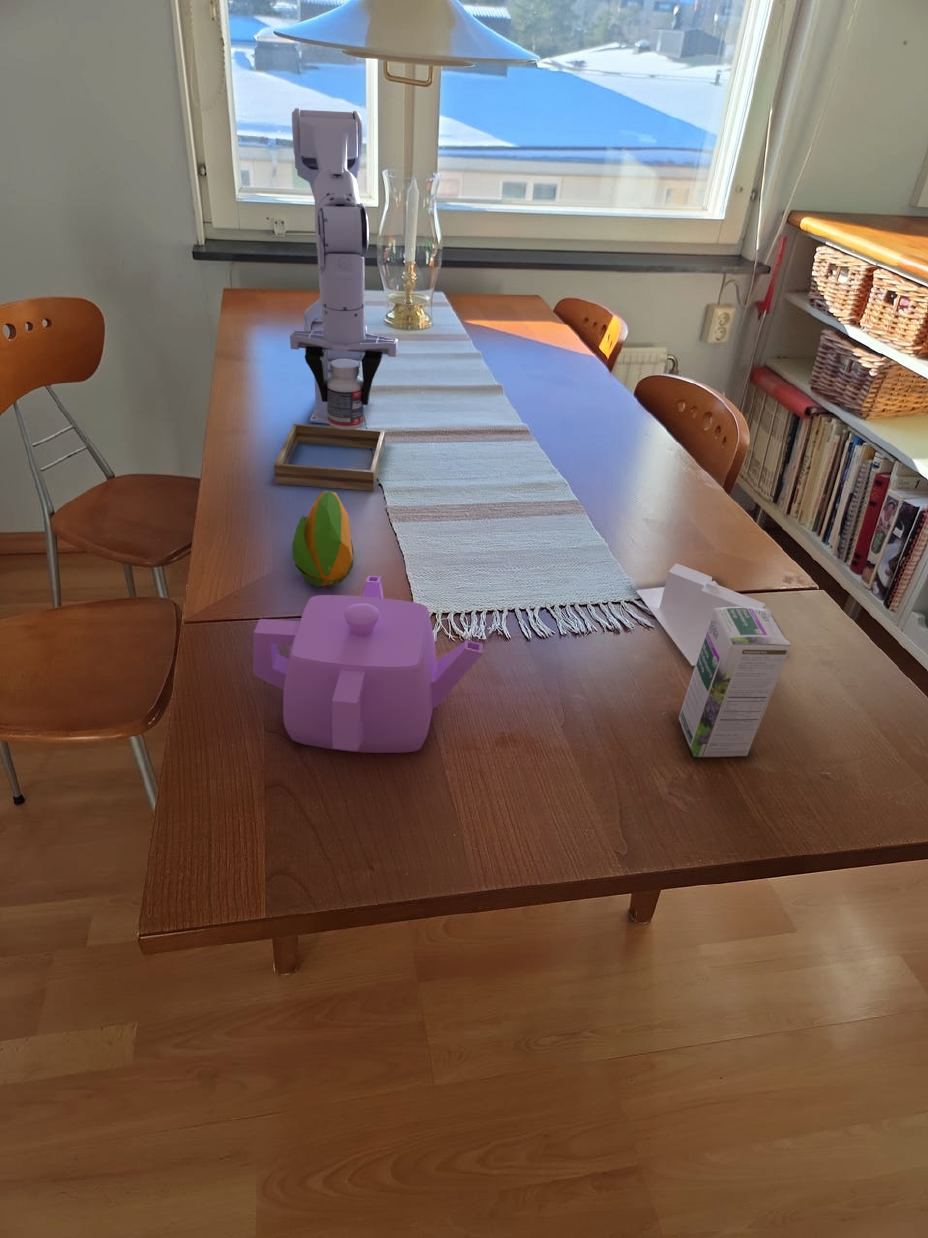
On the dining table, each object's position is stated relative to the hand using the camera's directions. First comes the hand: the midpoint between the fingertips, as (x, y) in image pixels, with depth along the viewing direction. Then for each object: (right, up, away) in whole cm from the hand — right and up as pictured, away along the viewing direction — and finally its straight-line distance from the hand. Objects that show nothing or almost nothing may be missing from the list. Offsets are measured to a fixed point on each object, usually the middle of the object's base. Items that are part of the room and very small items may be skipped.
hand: (345, 400), depth 121 cm
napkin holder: (+46, -32, -20) cm, 59 cm away
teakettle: (+7, -40, -35) cm, 54 cm away
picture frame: (-3, -8, +6) cm, 11 cm away
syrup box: (+42, -44, -36) cm, 70 cm away
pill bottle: (0, -3, +2) cm, 4 cm away
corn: (-1, -24, -14) cm, 27 cm away
